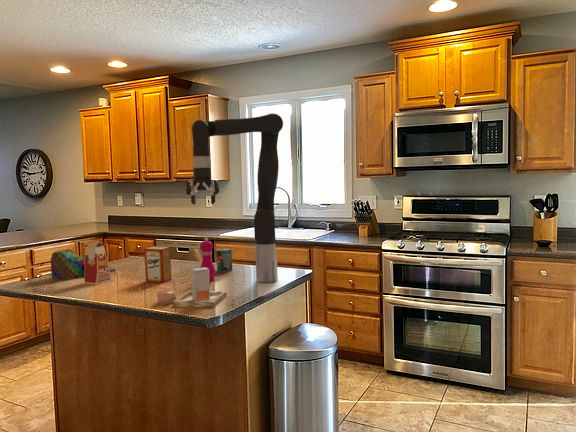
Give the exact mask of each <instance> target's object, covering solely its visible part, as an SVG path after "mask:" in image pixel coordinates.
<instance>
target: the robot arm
mask: <svg viewBox="0 0 576 432" xmlns="http://www.w3.org/2000/svg"><path fill="white" fill-rule="evenodd" d="M283 127H284V120H283V118H282V117H281V116H280V115H279V114H278V113H273V112H272V113H271V112H270V113H267V114H264V115H259V116H254V117H244V118H220V119H216V120H210V121H206V120H203V119H197V120H195V121H194V122H192V126H191V132H192V143H193V144H192V171H193V173H192V174H193V176H192V177H193V180H186V191H185V192H186V193H185V194H186V195H189V196H190V202H191V204H192V205H196V204H197V201H196V194H197V192H199V191H207V192H208V193H209V194H210V204H211V205H215V203H216V195H219V194H220V185H219V179H215V180H212V169H211V159H210V158H211V157H210V156H211V155H210V145H209V138H210V137H215V136H219V137H220V136H222V137H223V136H224V137H225V136H233V135H234V136H235V135H240V134H241V135H242V134H246V133H260V150H259V156H258V165H257V181H256V182H257V192H258V194H257V195H258V196H257V197H258V198H257V205H256V210H255V214H254V216H253V227H254V228H253V229H254V230H253V231H254V249H255V250H254V252H255V279H256V282H258V283H262V284H263V283H264V284H266V283H267V284H268V283H276V281H277V280H278V278H279V277H278V259H277V254H276V253H277V252H276V251H277V250H276V246H277V245H276V219H275V218H276V215H275V195H276V192H277V191H276V190H277V186H278V185H277V184H278V181H279V180H278V178H279V156H278V155H279V154H278V140H279V139H278V138H279V134H280V132H281V130H282V129H283ZM211 185H213V186H214V189H213V188H212V186H211ZM192 186H194V187H193V189H192Z"/></svg>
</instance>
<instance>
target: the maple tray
mask: <svg viewBox="0 0 576 432" xmlns="http://www.w3.org/2000/svg"><path fill="white" fill-rule="evenodd" d="M227 295H228V294H227V291H224V290H223V291H218V290H217V291H214V290H210V299H207V300H199V301H195V300H193V299H192V290H188V291H186V292H185V293H183V294H182V295H180V296H178V297H176V299H175V300H174V301H173V303H172V307H178V308H179V307H182V308H183V307H185V308H188V307H189V308H216V306H217V305H219V303H221V302H222V301H224V300H225V298H226V297H227Z"/></svg>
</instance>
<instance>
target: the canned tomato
mask: <svg viewBox="0 0 576 432" xmlns="http://www.w3.org/2000/svg"><path fill="white" fill-rule="evenodd" d="M232 251H233V250H232V248H230V247H220V248H217V249H216V250H215V252H216V254H215V255H216V272H218V273H219V272H220V273H227V272H232V271H233V252H232Z"/></svg>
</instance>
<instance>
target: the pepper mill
mask: <svg viewBox="0 0 576 432" xmlns="http://www.w3.org/2000/svg"><path fill="white" fill-rule="evenodd" d="M199 248H200V250H201V252H200V253H201V256H202V260H201V265H200V267H199V268H204V267H206V268H208V269H209V282H212V281H215V280H216V279H215V275H214V274H215V273H216V268H215V265H214V263H213V260H212V255H213V251H212V250H213V248H214V245H213V243H212V242H211V241H210V240H209V238H208V237H204V241H202V242H200V245H199Z"/></svg>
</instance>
